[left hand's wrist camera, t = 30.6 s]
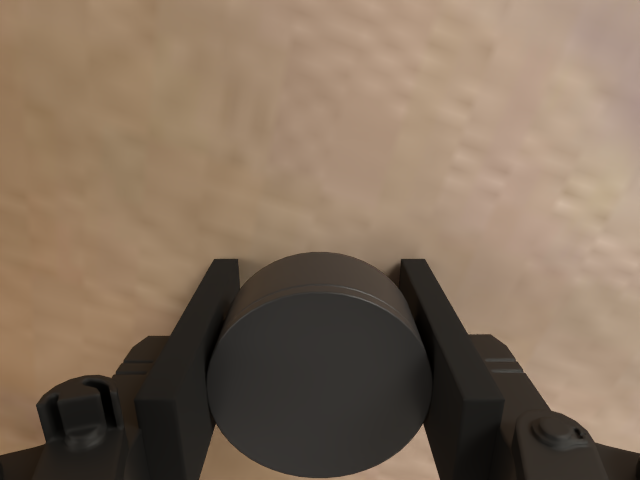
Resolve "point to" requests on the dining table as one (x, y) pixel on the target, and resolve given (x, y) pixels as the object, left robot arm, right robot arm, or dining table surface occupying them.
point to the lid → (319, 368)
